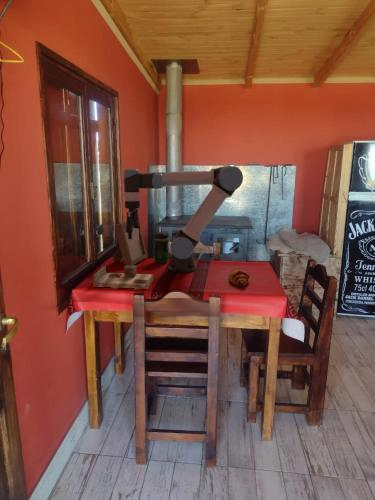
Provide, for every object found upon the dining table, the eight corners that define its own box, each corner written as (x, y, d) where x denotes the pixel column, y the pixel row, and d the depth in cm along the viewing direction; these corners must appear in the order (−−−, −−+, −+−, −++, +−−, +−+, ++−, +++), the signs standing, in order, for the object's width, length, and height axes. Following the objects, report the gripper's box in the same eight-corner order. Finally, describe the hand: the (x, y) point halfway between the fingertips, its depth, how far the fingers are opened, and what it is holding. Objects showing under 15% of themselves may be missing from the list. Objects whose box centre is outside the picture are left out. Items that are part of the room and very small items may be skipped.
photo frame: (147, 258, 225) (146, 218, 219) (131, 267, 205) (129, 224, 199) (126, 256, 230) (125, 217, 224) (109, 265, 210) (106, 223, 204)
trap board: (153, 279, 184) (153, 268, 183) (147, 289, 169) (146, 277, 167) (104, 277, 187) (103, 266, 185) (93, 287, 171) (93, 275, 170)
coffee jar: (165, 264, 212) (165, 233, 207) (153, 263, 214) (152, 232, 209) (170, 260, 221) (170, 230, 217) (158, 259, 223) (158, 230, 218)
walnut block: (136, 274, 183) (136, 265, 182) (134, 277, 178) (133, 268, 177) (126, 274, 183) (126, 265, 182) (124, 277, 179) (123, 267, 177)
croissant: (229, 281, 192) (223, 269, 191) (246, 273, 192) (239, 260, 190) (236, 295, 172) (229, 281, 170) (255, 285, 171) (248, 271, 169)
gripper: (130, 198, 192) (131, 238, 197) (118, 202, 169) (120, 247, 174) (144, 198, 191) (145, 238, 196) (133, 202, 169) (135, 248, 174)
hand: (133, 242), depth 185 cm, fingers open, 11 cm apart
